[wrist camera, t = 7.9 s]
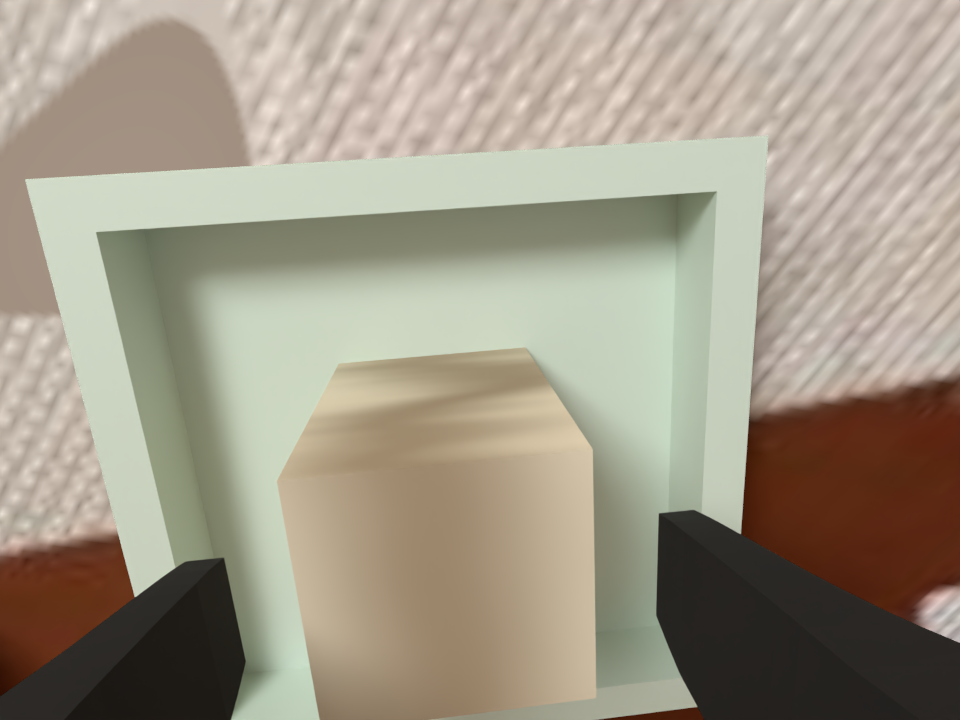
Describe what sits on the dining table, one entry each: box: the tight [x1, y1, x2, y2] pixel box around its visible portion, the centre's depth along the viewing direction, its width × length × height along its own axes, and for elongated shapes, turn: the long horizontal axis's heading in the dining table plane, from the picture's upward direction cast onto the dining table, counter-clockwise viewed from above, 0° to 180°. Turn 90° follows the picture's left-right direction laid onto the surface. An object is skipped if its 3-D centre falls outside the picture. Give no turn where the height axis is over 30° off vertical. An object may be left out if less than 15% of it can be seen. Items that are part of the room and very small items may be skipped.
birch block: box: [277, 347, 596, 720], centre depth 12 cm, size 4×4×6 cm
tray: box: [25, 136, 768, 720], centre depth 14 cm, size 14×14×2 cm
